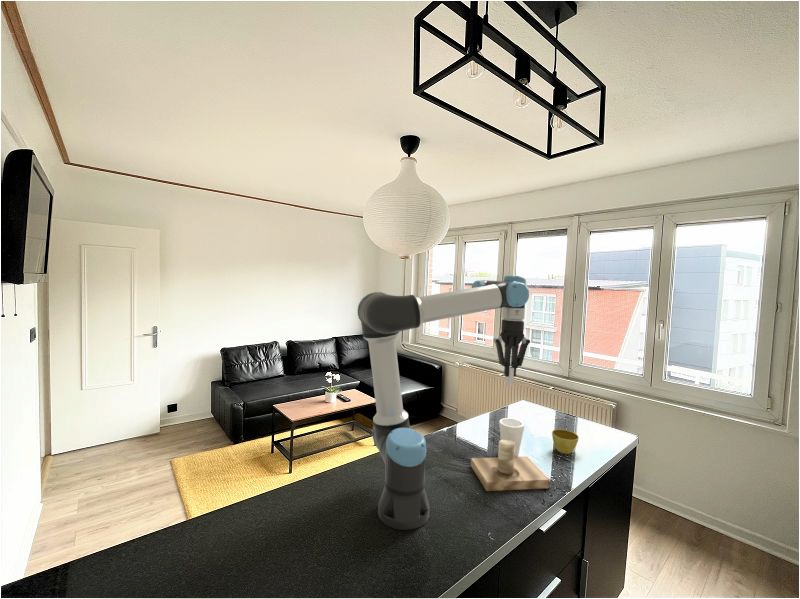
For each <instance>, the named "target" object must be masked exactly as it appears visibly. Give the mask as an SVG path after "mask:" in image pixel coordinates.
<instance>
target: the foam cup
mask: <svg viewBox="0 0 800 599" xmlns="http://www.w3.org/2000/svg"><path fill="white" fill-rule="evenodd" d="M498 427H499V431H500V433H499V435H500V440H510V441H513V442H514V443H515V454H514V457H519V454H520V449H521V445H522V440H523V433H524V431H525V423H524V422H523V421H522V420H520V419H517V418H512V417H505V418H500V419H499V426H498Z"/></svg>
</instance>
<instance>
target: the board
mask: <svg viewBox="0 0 800 599" xmlns="http://www.w3.org/2000/svg"><path fill="white" fill-rule="evenodd" d="M497 466H498V456H497V457H472V458H470V467H471V468H472V470H473V472H474V473H475V475H476V476H477V478H478V479H479V481H480V483H481V484H482V486H483V488H484V489H485V491H486V492H493V491H494V492H495V491H514V490H515V491H516V490H520V491H521V490H537V489H539V490H540V489H549V488H550V478H548V476H547V475H546V474H544V472H543V471H542V470H540V468H539V467H538V466H537V465H536V464H535V463H534V462H533V461H532V460H531V458H529V457H528V456H525V455H524V456H518V457H514V472H513V475H511V476H505V475H502V474H500V473H498V471H497Z"/></svg>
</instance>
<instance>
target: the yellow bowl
mask: <svg viewBox="0 0 800 599" xmlns="http://www.w3.org/2000/svg"><path fill="white" fill-rule="evenodd" d="M551 438H552V441H553V444H554V447H555V449H556V450H557V452H559V453H561V454H564V455H570V454H571V453H572V452H573V451H574V450H575V449H576V447H577V444H578V442H579V438H580V437H579V435H578V434H577V433H575V432H574V431H570V430H567V429H560V428H559V429H553V430H552V431H551Z"/></svg>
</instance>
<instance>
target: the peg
mask: <svg viewBox="0 0 800 599" xmlns="http://www.w3.org/2000/svg"><path fill="white" fill-rule="evenodd" d="M497 454H498V455H497V457H498V466H497V471H498V473H500V474H502V475H505V476H511V475H513V472H514V454H515V443H514V442H513V441H510V440H501V439H499V441H498V452H497Z"/></svg>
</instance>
